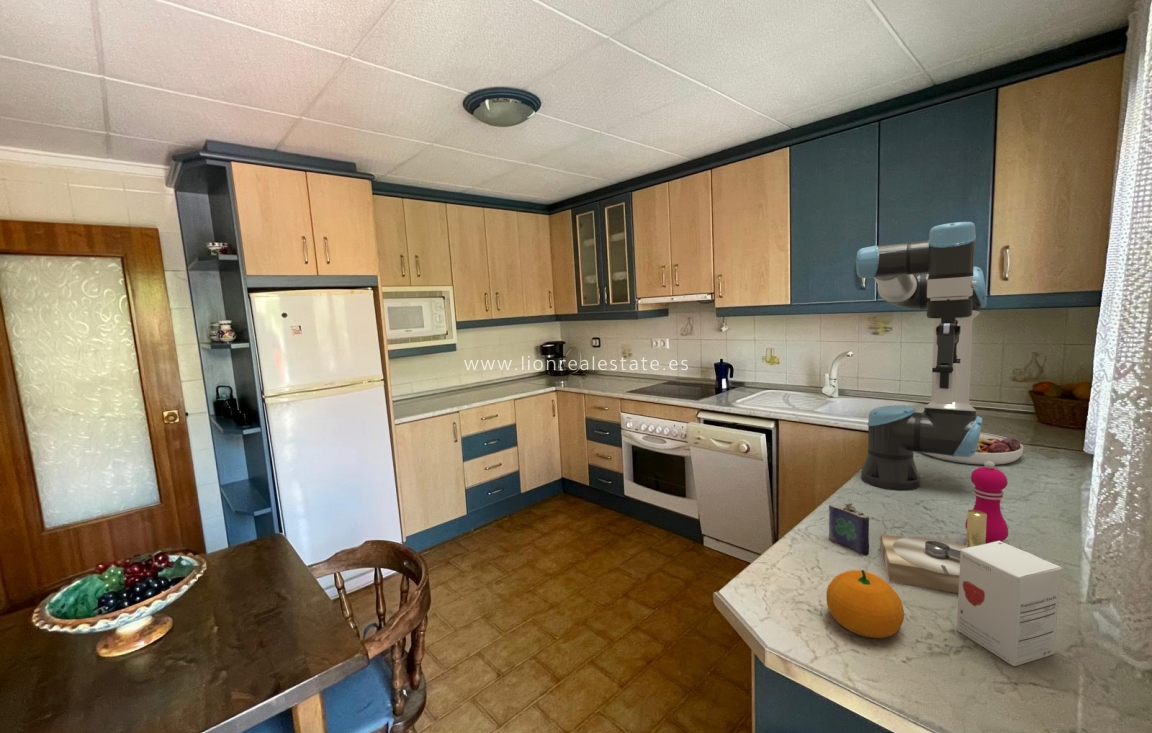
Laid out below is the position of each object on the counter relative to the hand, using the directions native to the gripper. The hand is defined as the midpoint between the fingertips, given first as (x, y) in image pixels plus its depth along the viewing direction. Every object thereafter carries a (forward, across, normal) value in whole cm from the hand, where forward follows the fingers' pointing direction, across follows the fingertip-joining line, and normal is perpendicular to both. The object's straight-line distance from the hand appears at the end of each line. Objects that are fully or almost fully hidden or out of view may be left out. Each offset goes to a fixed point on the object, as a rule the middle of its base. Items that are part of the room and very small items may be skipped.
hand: (945, 397), depth 101 cm
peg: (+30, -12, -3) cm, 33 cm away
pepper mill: (+35, +6, -8) cm, 36 cm away
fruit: (+35, -38, +9) cm, 52 cm away
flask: (+35, -10, +16) cm, 40 cm away
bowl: (+35, +82, -2) cm, 89 cm away
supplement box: (+35, -29, -10) cm, 47 cm away
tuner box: (+35, -12, 0) cm, 37 cm away
